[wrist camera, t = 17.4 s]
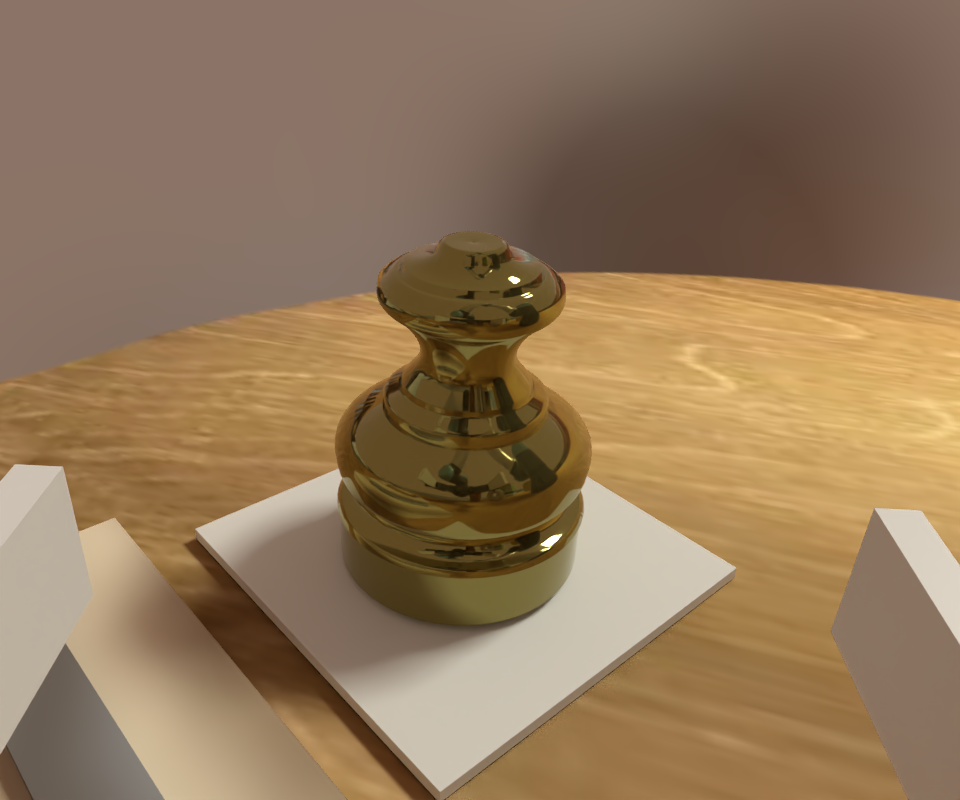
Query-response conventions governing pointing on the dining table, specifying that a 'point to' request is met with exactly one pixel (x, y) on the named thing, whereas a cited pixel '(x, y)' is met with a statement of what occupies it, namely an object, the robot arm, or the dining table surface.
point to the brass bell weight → (463, 444)
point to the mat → (462, 649)
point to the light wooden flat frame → (150, 704)
